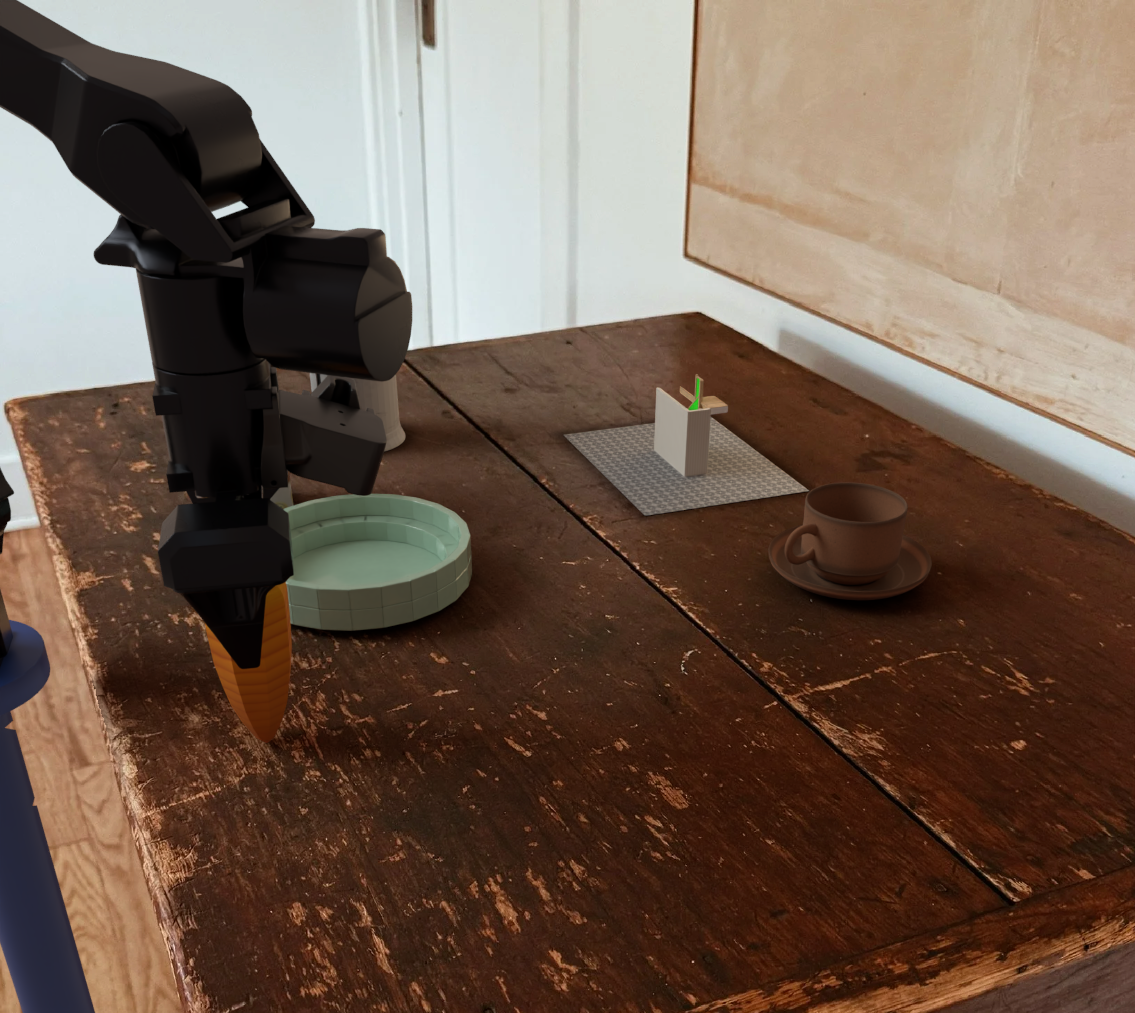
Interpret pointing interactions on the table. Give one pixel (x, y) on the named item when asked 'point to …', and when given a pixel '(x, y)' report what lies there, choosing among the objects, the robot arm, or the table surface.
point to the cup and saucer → (851, 545)
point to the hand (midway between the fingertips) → (250, 626)
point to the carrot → (260, 671)
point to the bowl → (374, 561)
